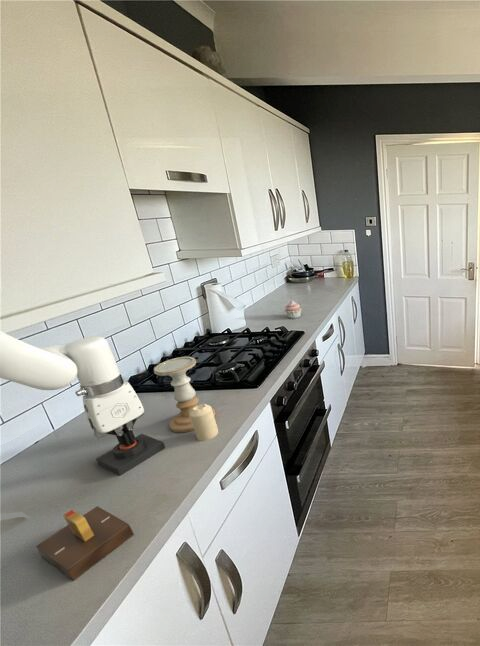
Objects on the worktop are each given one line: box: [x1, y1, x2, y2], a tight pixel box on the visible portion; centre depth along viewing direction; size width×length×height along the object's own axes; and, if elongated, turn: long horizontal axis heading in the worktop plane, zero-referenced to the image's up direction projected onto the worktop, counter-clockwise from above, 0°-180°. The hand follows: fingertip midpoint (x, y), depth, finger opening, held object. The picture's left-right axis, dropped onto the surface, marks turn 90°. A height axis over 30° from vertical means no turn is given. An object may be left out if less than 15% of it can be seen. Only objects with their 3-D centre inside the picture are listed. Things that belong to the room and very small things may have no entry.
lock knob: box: [63, 509, 94, 542], centre depth 69 cm, size 5×2×5 cm, turn 66°
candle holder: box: [153, 356, 216, 434], centre depth 106 cm, size 12×12×20 cm
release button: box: [119, 440, 137, 450], centre depth 94 cm, size 4×4×2 cm
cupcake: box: [284, 300, 303, 320], centre depth 198 cm, size 9×9×10 cm
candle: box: [189, 403, 219, 442], centre depth 101 cm, size 6×6×10 cm
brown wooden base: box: [35, 506, 135, 581], centre depth 71 cm, size 10×12×3 cm
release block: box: [95, 433, 166, 477], centre depth 95 cm, size 11×10×4 cm
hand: (128, 443), depth 94 cm, fingers closed
